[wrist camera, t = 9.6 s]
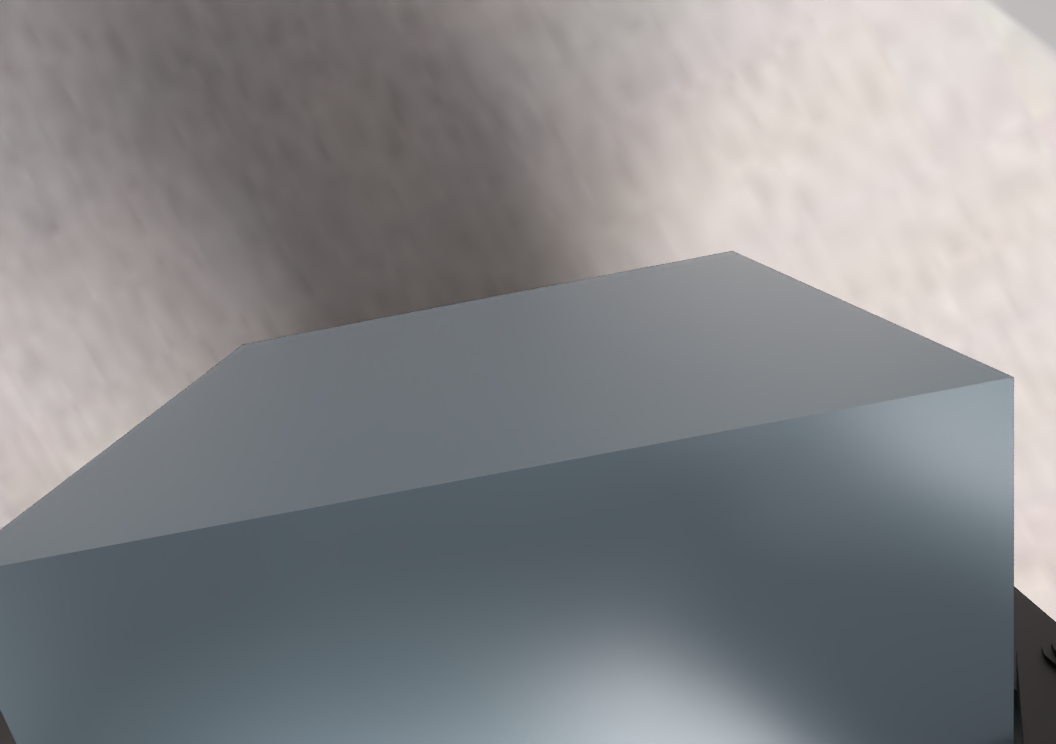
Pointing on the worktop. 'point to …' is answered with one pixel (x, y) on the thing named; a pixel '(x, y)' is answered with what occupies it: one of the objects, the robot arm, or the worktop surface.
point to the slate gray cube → (539, 533)
